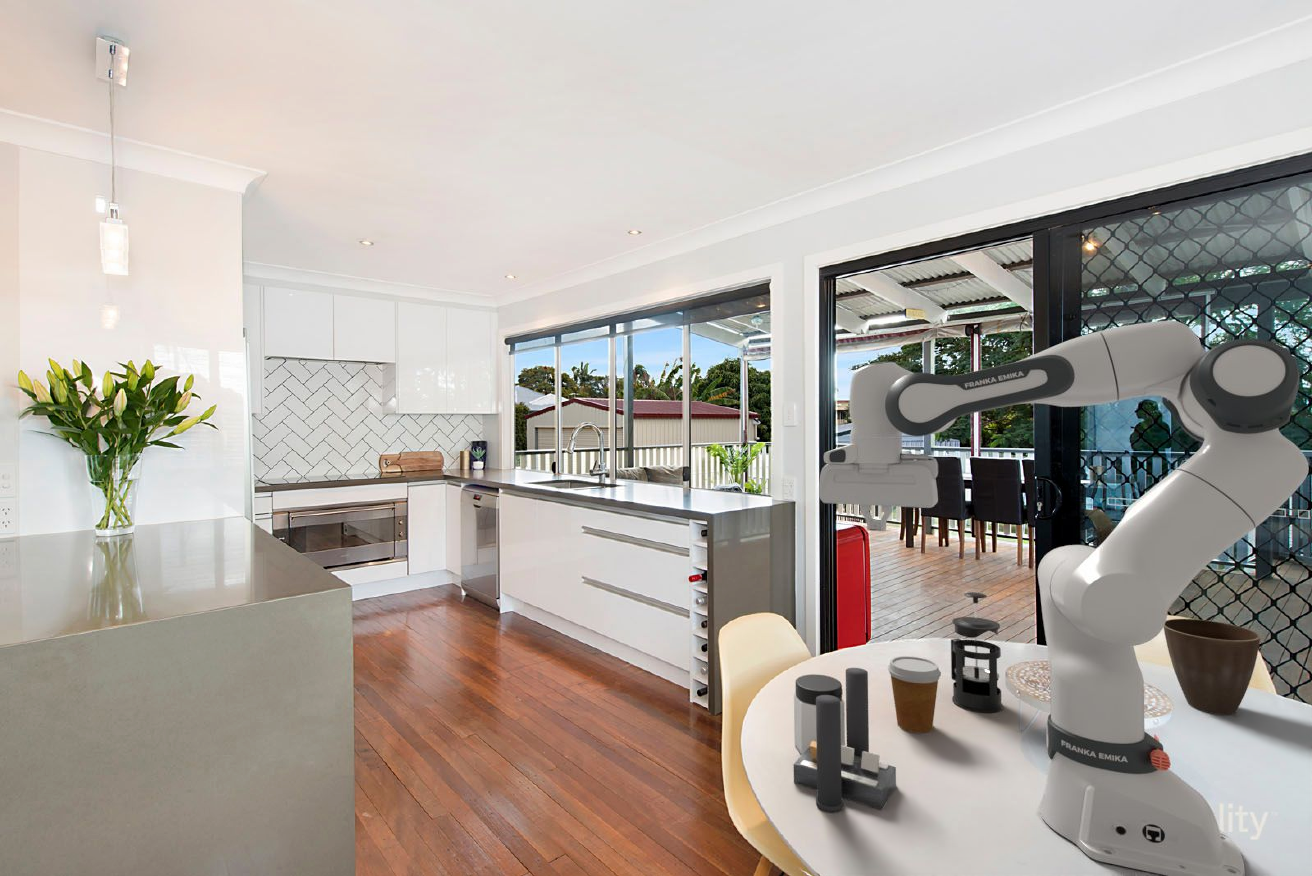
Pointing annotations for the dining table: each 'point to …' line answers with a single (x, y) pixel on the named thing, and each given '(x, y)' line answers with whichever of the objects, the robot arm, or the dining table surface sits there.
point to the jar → (813, 707)
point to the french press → (975, 682)
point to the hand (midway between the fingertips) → (876, 530)
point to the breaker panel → (852, 780)
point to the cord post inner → (857, 710)
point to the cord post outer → (828, 754)
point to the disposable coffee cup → (914, 692)
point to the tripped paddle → (813, 749)
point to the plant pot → (1212, 662)
